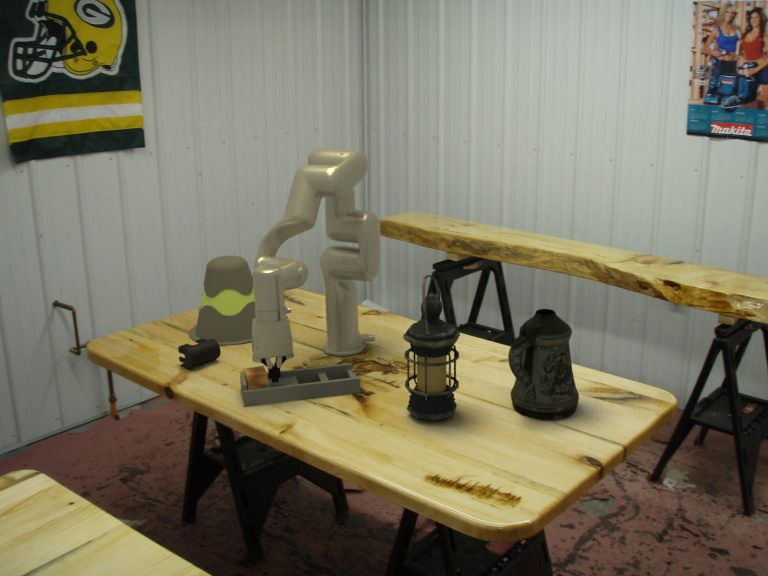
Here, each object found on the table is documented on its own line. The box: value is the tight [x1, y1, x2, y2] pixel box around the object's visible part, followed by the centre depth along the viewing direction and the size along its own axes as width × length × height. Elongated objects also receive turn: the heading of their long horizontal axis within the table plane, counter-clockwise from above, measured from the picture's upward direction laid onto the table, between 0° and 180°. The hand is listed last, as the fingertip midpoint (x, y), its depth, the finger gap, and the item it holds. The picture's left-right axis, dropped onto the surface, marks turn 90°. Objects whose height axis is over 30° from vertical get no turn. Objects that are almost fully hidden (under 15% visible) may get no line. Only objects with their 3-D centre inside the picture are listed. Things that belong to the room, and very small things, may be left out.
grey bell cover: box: [188, 255, 256, 346], centre depth 250 cm, size 28×28×24 cm
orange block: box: [243, 365, 268, 390], centre depth 201 cm, size 5×5×5 cm
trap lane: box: [239, 362, 361, 408], centre depth 205 cm, size 30×11×6 cm, turn 104°
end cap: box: [177, 338, 222, 370], centre depth 225 cm, size 10×7×7 cm
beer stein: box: [507, 308, 580, 421], centre depth 189 cm, size 16×19×25 cm
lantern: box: [402, 274, 461, 421], centre depth 186 cm, size 14×13×35 cm
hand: (274, 380), depth 203 cm, fingers closed
